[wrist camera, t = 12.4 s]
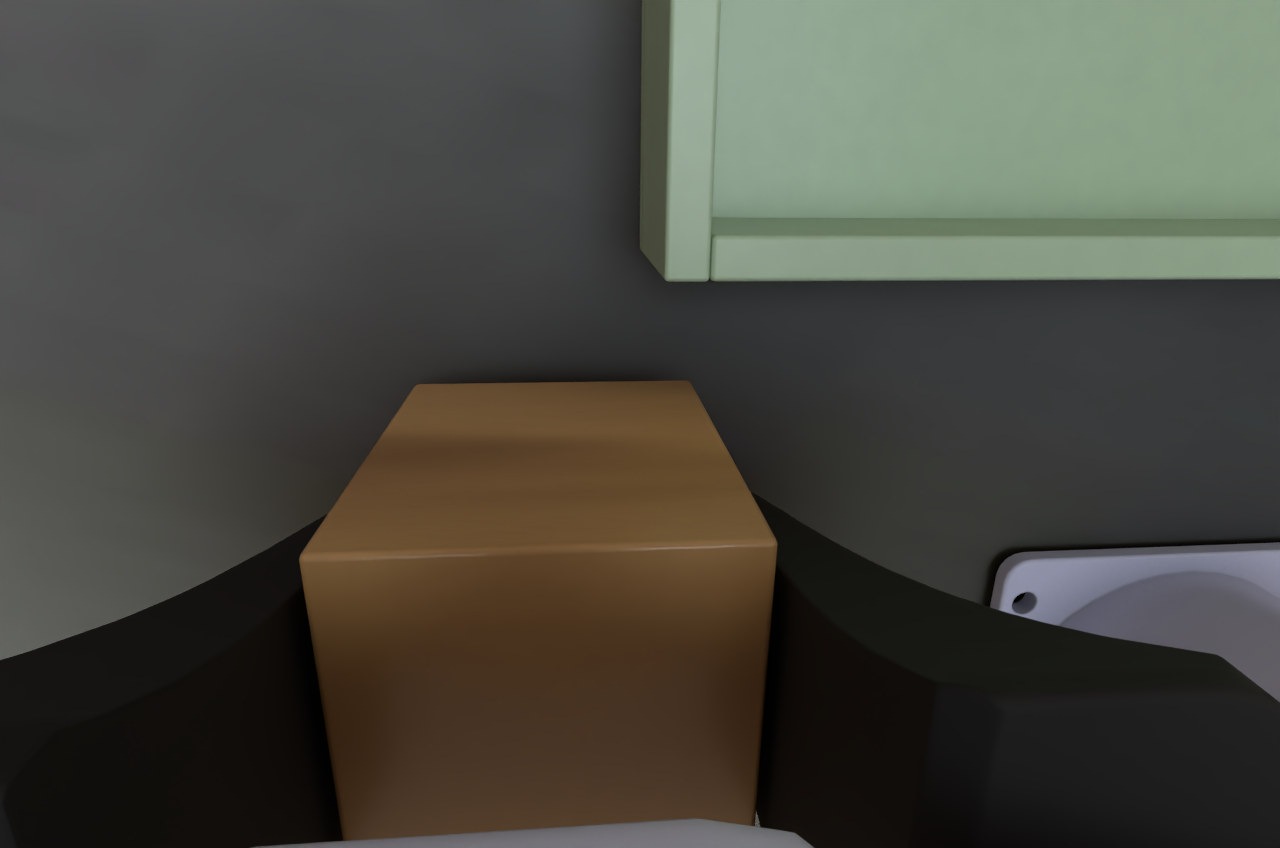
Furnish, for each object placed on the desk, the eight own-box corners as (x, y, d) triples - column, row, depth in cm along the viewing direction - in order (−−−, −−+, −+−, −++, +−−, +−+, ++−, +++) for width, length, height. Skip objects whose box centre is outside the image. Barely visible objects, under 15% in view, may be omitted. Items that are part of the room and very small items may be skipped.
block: (682, 611, 14) (751, 886, 9) (436, 621, 13) (351, 915, 8) (691, 379, 12) (780, 541, 7) (414, 382, 12) (295, 555, 7)
